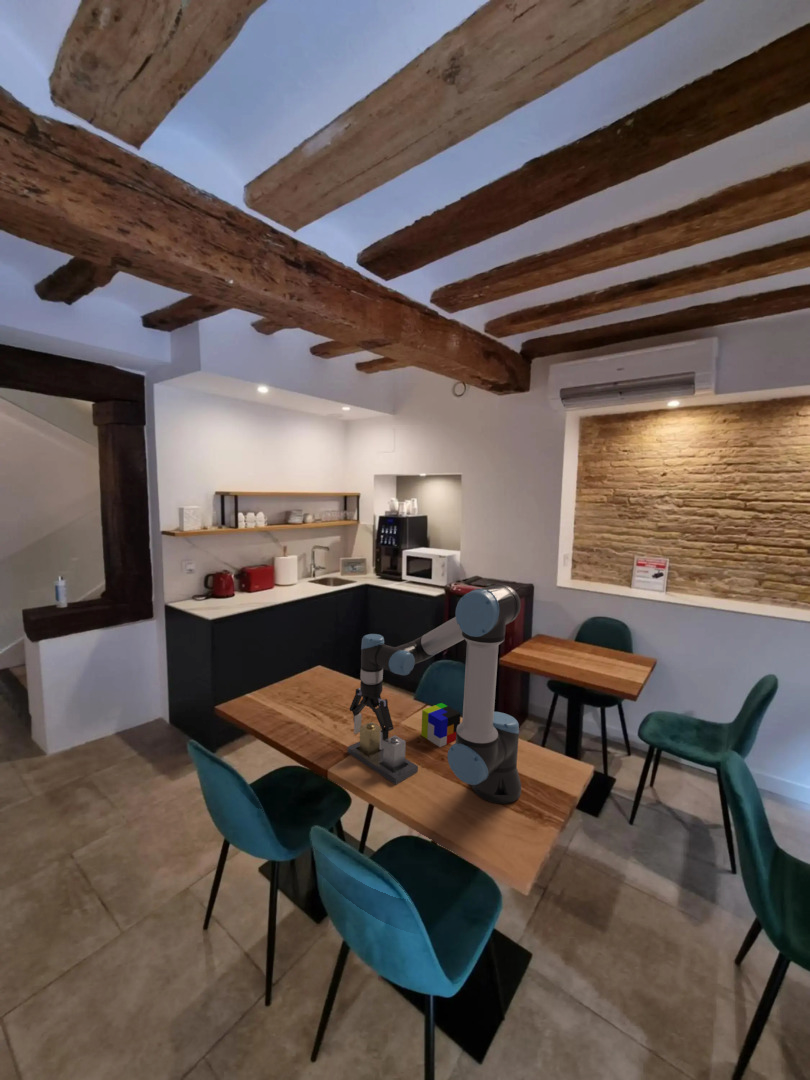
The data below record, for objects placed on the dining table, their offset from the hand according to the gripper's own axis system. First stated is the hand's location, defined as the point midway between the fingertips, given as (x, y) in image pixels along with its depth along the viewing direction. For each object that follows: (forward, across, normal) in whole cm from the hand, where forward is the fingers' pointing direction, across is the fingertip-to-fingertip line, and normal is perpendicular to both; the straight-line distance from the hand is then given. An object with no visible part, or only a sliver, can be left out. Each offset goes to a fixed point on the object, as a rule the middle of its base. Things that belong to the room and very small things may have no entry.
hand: (370, 740), depth 156 cm
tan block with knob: (+5, 0, 0) cm, 5 cm away
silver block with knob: (+5, -12, 0) cm, 13 cm away
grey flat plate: (+5, -6, 0) cm, 8 cm away
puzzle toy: (+5, -9, -27) cm, 29 cm away
